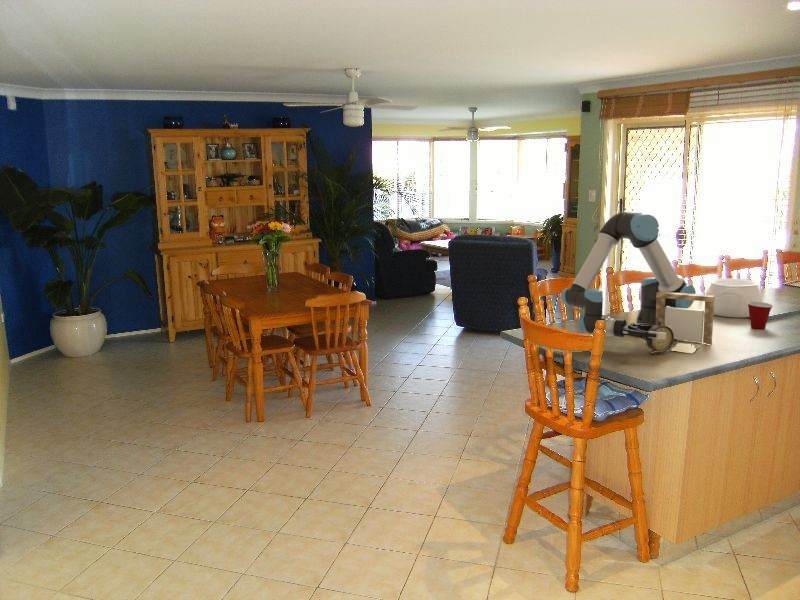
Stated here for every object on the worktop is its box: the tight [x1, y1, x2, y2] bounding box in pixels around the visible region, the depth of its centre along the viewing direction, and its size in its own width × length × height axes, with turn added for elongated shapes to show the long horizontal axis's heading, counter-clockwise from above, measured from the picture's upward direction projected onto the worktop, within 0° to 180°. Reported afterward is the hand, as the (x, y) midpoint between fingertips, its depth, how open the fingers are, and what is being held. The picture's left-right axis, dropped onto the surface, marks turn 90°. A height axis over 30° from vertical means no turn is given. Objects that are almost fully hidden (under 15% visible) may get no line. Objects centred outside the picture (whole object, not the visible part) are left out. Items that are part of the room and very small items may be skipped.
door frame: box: [656, 291, 715, 345], centre depth 298 cm, size 23×4×21 cm, turn 54°
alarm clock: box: [645, 315, 675, 353], centre depth 282 cm, size 11×5×16 cm, turn 106°
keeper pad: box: [689, 342, 702, 349], centre depth 288 cm, size 9×14×1 cm, turn 144°
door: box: [665, 306, 705, 344], centre depth 299 cm, size 15×2×14 cm, turn 55°
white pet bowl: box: [705, 278, 764, 319], centre depth 347 cm, size 29×26×16 cm
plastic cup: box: [747, 301, 774, 331], centre depth 316 cm, size 11×11×12 cm
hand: (669, 333), depth 279 cm, fingers closed on alarm clock, 10 cm apart
